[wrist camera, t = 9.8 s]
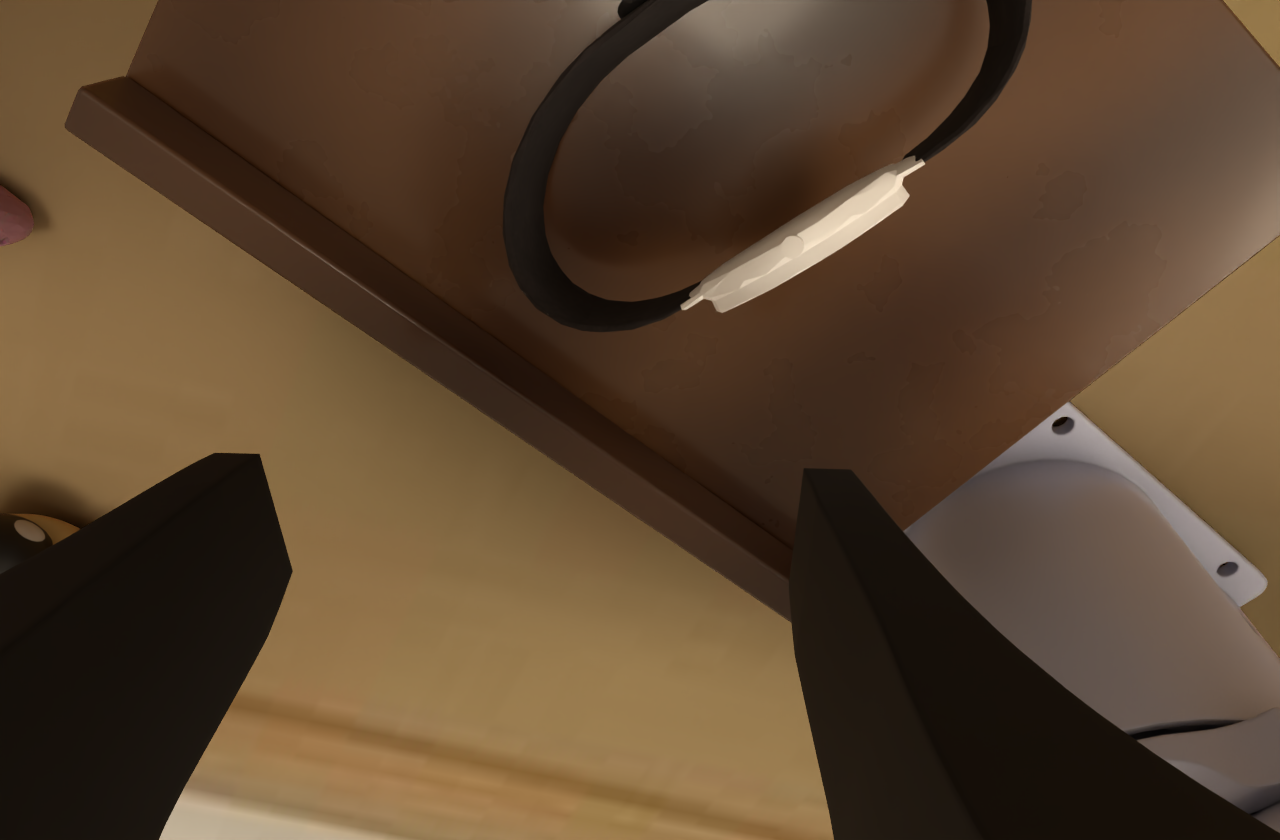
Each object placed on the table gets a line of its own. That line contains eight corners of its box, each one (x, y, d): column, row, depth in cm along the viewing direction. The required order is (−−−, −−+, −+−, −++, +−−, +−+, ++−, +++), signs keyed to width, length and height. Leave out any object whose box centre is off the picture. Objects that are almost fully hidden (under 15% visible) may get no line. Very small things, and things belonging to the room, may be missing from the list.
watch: (624, 348, 15) (602, 457, 12) (455, 127, 13) (381, 187, 10) (1036, 99, 13) (1145, 155, 10) (897, -217, 11) (974, -274, 8)
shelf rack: (1189, 104, 18) (1425, 189, 12) (791, 463, 23) (820, 644, 17) (582, -566, 13) (488, -947, 8) (261, 65, 18) (59, 128, 13)
